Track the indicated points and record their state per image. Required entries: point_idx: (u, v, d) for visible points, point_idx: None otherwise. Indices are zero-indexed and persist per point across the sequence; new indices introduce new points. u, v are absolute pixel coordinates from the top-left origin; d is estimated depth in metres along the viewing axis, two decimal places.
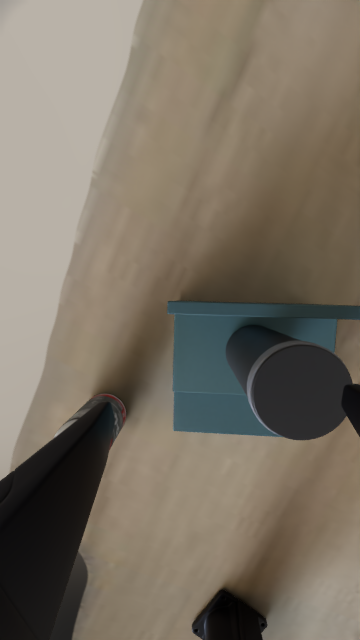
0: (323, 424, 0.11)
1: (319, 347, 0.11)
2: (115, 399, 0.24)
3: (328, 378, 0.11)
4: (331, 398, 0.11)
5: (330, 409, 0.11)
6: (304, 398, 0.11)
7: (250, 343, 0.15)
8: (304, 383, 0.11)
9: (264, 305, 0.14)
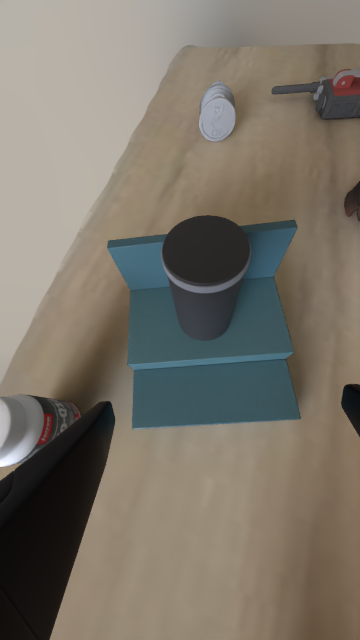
0: (229, 266, 0.12)
1: (212, 216, 0.13)
2: (70, 403, 0.22)
3: (224, 233, 0.13)
4: (230, 246, 0.12)
5: (232, 254, 0.12)
6: (207, 249, 0.12)
7: None
8: (205, 239, 0.13)
9: None
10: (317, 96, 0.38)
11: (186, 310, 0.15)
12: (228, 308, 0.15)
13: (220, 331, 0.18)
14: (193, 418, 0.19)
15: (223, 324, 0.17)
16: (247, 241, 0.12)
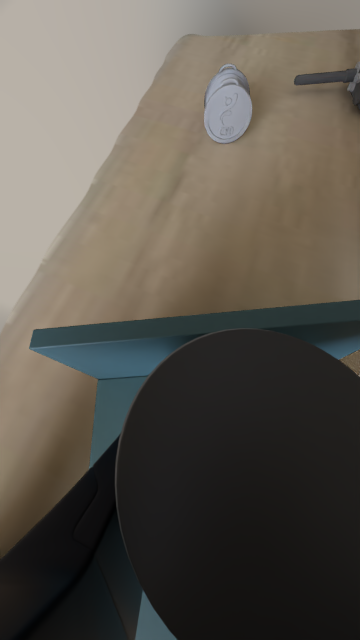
0: None
1: (268, 331, 0.05)
2: None
3: (317, 405, 0.04)
4: (352, 471, 0.04)
5: None
6: (270, 480, 0.04)
7: None
8: (256, 427, 0.04)
9: (186, 317, 0.08)
10: (353, 86, 0.30)
11: None
12: None
13: None
14: None
15: None
16: None
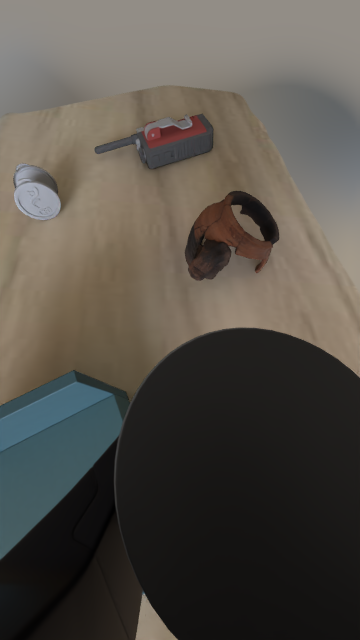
0: None
1: (267, 330, 0.05)
2: None
3: (316, 404, 0.04)
4: (351, 470, 0.04)
5: None
6: (269, 479, 0.04)
7: None
8: (255, 426, 0.04)
9: None
10: (139, 147, 0.38)
11: None
12: None
13: None
14: None
15: None
16: None
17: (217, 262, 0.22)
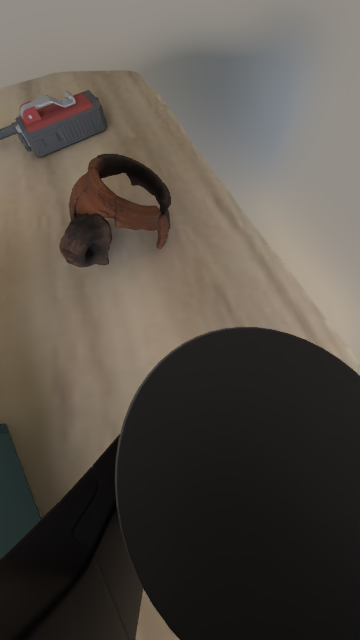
0: None
1: (268, 329, 0.05)
2: None
3: (317, 403, 0.04)
4: (352, 469, 0.04)
5: None
6: (270, 478, 0.04)
7: None
8: (256, 426, 0.04)
9: None
10: None
11: None
12: None
13: None
14: None
15: None
16: None
17: (90, 238, 0.17)
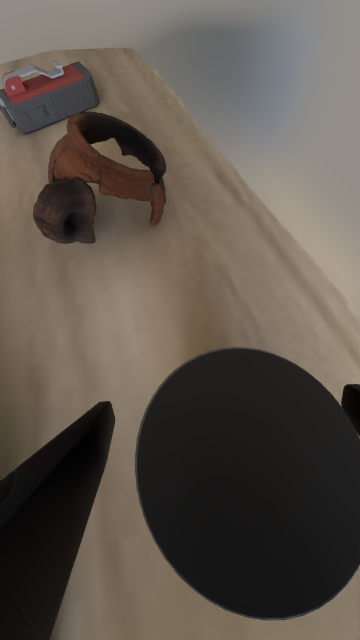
0: (324, 548, 0.04)
1: (256, 350, 0.06)
2: None
3: (292, 410, 0.05)
4: (316, 461, 0.05)
5: (326, 494, 0.04)
6: (254, 468, 0.05)
7: None
8: (245, 428, 0.05)
9: None
10: None
11: None
12: None
13: None
14: None
15: None
16: (358, 446, 0.05)
17: (69, 205, 0.15)
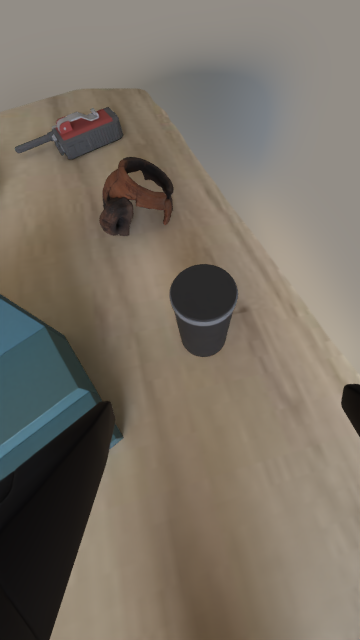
0: (221, 307, 0.16)
1: None
2: None
3: (217, 279, 0.17)
4: (222, 290, 0.16)
5: (223, 297, 0.16)
6: (205, 292, 0.16)
7: None
8: (203, 284, 0.17)
9: None
10: None
11: (188, 335, 0.19)
12: (222, 333, 0.19)
13: (216, 349, 0.22)
14: None
15: (218, 344, 0.21)
16: (235, 286, 0.16)
17: (120, 213, 0.26)
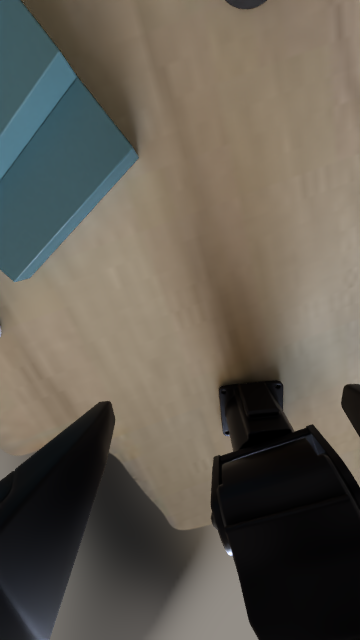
0: None
1: None
2: None
3: None
4: None
5: None
6: None
7: None
8: None
9: None
10: None
11: None
12: None
13: None
14: (48, 232, 0.17)
15: None
16: None
17: None
